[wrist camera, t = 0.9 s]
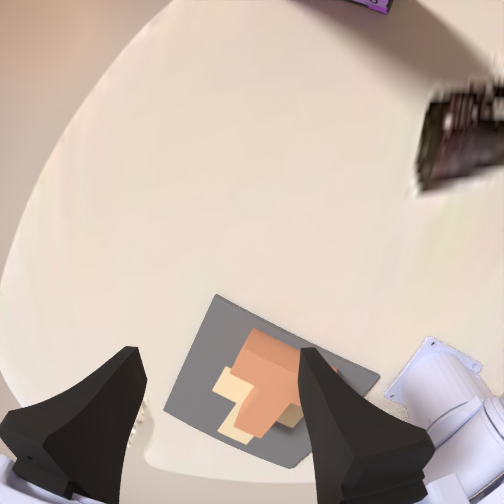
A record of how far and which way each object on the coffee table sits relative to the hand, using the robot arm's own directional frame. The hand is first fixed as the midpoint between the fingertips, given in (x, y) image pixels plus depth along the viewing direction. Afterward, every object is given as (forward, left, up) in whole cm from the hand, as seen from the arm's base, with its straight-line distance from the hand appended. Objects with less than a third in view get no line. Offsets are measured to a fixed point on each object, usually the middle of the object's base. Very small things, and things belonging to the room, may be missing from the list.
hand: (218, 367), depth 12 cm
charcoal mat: (-5, +13, -15) cm, 20 cm away
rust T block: (-5, +9, -14) cm, 18 cm away
